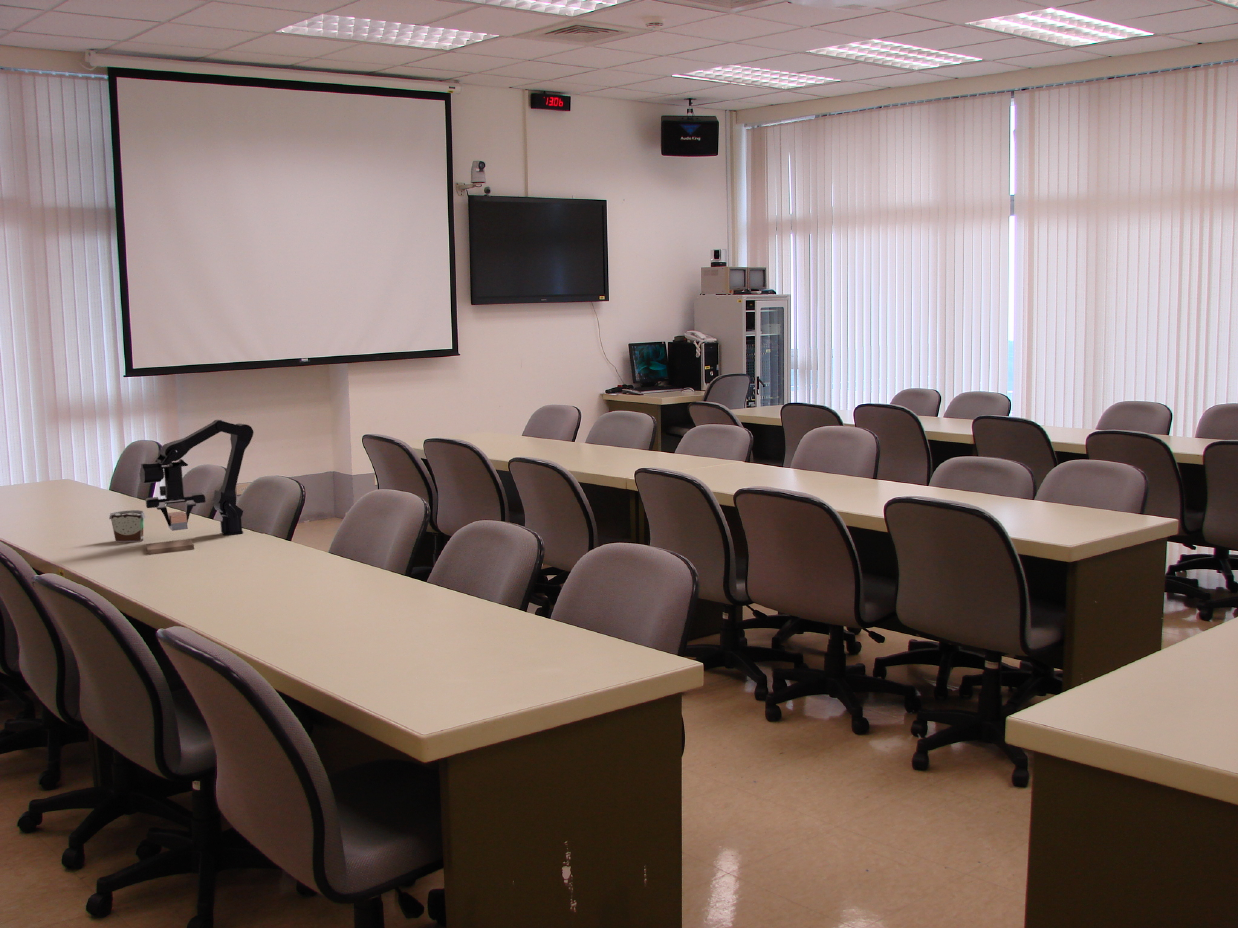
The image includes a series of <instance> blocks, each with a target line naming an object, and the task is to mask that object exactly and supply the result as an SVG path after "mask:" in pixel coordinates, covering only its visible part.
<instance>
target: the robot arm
mask: <svg viewBox="0 0 1238 928" xmlns="http://www.w3.org/2000/svg"><path fill="white" fill-rule="evenodd" d="M221 432H222V433H225V434H229V435H230V439H229V440H230V447H231V449H230V452H229V453H230V454H229V457H228V461H227V465H226V468H225V473H224V476H223V477H224V478H223V480H222V481H223V482H222V486H221V487H220V489H219V490H216V489H215V490H214V494H213V498H212V500H211V502H213V504H212V505H213V506H212V507H214V509H215V510H216V511H217V512H218V513H219V515H220V516H221V520H220V521H219V522H220V532H221V533H222V534H223V536H228V535H229V536H230V535H238V534H239V535H240V534H244V531H243V522H242V517H243V514H244V510H243V509H242V508H240V507H239V506H238V505H237V493H236V489H237V488H236V487H237V484H238V480H239V475H240V471H241V469H242V463H243V458H244V454H245V451H246V449H247V448H248V446H249V445H250V443H251V441H252V439H253V437H254V429H253V428H252V426H250V425H249V424H246V423H245V424H244V423H240V422H239V423H230V422H227V421H225V420H223V419H214V420H213V421H212V422H210V423H209V424H206V425H205V426H203V427H201V428H200V429H198V430H196V431H194V432H192V433H191V434H188V435H187V436H185V437H183V438H180V439H176V440H173V441H170V442H166V443H165V444H162V445H161V448H160V452H159V455H158V456H157V458H156V460H155V461H154V462H150V463H149V462H148V463H145V462H144V463H141V464H140V469H139V473H138V474H139V479H140V482H141V484H143V485H145V484H153V483H161V482H162V480H164V485H161V486H159V496H160V497H164V496H165V498H159V497H158V496H154V497H153V496H152V497H147V498H146V499H145V507H146V509H152V508H154V509H155V508H156V510H157V511H158V510H159V511H161V513H162V515H163V516H164V518H165V520H166V523H167V527H168V526H170V521H169V517H168V513H169V512H168V509H167V506H166V505H167V504H179V503H180V504H181V503H184V504H185V511H184V513H185V514H186V515H187V524H188V522H189V518H190V515H191V513H192V510H193V508H194V507H196V506H197V504H204V503H206V501H207V500H206V496H205V494H204V493H203V492H196V493H195V492H194V493H191V495H190V496H189V495H188V496H185V490H184V479H183V467H188V466H189V464H188V463H187V462H185V461H184V459H182V458H183V457H185V456H186V455H187V454H188V453H189V451H190V450H191V449H193V448H194V447H196V446H198V445H200V444H201V443H203V442H205V441H207V440H209V439H211V438H212V437H214V436H215V435H217V434H219V433H221Z"/></svg>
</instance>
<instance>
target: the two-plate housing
mask: <svg viewBox="0 0 1238 928" xmlns="http://www.w3.org/2000/svg"><path fill="white" fill-rule="evenodd" d="M168 517H169V521H170V526H168V525H167V527H168V528H169V530H171V531H172V532H173V531H181V530H183V531H184V530H188V523H187V515H186V514H185V511H174V512H172V511H171V512H168Z"/></svg>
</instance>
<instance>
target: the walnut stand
mask: <svg viewBox="0 0 1238 928" xmlns="http://www.w3.org/2000/svg"><path fill="white" fill-rule="evenodd" d="M145 548H146V552H147V554H148V555H154V554H155V555H156V554H164V553H171V552H179V551H190V550H195V545H194V542H193V541H192V539H191V538H187V539H178V540H169V541H162V542H161V541H160V542H153V543H151V542H150V543H145Z"/></svg>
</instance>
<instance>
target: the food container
mask: <svg viewBox="0 0 1238 928" xmlns="http://www.w3.org/2000/svg"><path fill="white" fill-rule="evenodd" d="M109 514H110V515H109V520H110V521H111V527H112V531H113V535H114V540H115V543H119V542H121V543H124V542H125V543H126V542H130V543H132V542H133V543H134V542H139V543H140V542H143V541H144V520H145V519H146V515H145V512H144V511H143V510H134V509H132V510H131V509H130V510H122V511H121V510H120V511H115V512H114V511H113V512H110V513H109Z"/></svg>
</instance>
